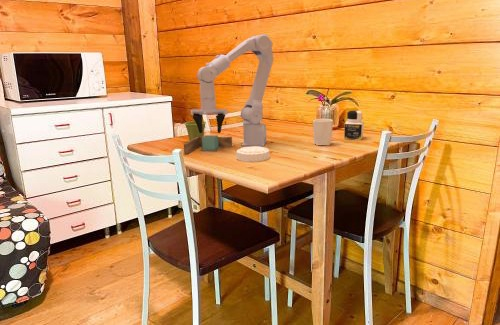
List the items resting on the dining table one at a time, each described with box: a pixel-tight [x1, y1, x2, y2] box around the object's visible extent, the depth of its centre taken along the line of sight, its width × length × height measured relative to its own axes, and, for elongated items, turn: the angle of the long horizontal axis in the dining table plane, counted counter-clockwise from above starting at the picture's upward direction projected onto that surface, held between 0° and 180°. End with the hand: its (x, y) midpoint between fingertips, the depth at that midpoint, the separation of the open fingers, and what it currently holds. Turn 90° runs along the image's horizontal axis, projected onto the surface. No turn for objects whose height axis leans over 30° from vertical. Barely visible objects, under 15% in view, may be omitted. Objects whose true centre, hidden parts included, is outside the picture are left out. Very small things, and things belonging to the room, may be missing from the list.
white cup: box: [312, 118, 334, 146], centre depth 154 cm, size 8×8×10 cm
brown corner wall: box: [183, 136, 233, 155], centre depth 151 cm, size 15×15×4 cm
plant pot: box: [183, 120, 207, 141], centre depth 167 cm, size 9×9×9 cm
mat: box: [199, 147, 223, 152], centre depth 153 cm, size 7×7×1 cm
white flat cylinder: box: [235, 146, 271, 163], centre depth 137 cm, size 12×12×4 cm
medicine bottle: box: [343, 110, 365, 141], centre depth 164 cm, size 7×7×12 cm
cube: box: [202, 134, 219, 150], centre depth 152 cm, size 5×5×5 cm
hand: (210, 132), depth 151 cm, fingers open, 7 cm apart
